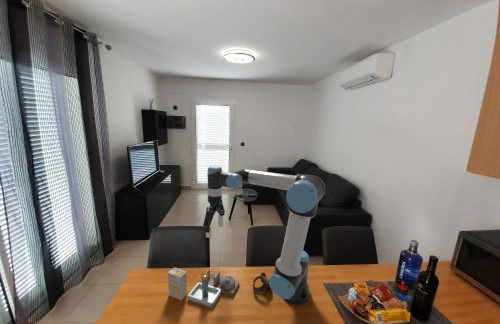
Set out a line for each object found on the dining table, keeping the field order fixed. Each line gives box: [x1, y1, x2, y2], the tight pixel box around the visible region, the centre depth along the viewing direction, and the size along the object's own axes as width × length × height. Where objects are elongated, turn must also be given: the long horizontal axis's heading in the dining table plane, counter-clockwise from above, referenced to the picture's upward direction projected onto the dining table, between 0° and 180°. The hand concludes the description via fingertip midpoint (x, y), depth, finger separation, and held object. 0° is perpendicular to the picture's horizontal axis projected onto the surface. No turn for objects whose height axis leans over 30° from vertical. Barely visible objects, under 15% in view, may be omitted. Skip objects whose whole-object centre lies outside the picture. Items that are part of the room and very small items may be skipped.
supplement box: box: [167, 267, 188, 302], centre depth 106 cm, size 8×5×13 cm, turn 65°
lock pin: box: [200, 272, 209, 298], centre depth 106 cm, size 4×4×11 cm
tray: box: [187, 282, 222, 309], centre depth 106 cm, size 14×10×2 cm
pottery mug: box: [252, 272, 273, 294], centre depth 113 cm, size 12×10×8 cm
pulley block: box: [204, 268, 240, 297], centre depth 114 cm, size 18×9×6 cm, turn 71°
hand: (214, 231), depth 118 cm, fingers open, 13 cm apart
